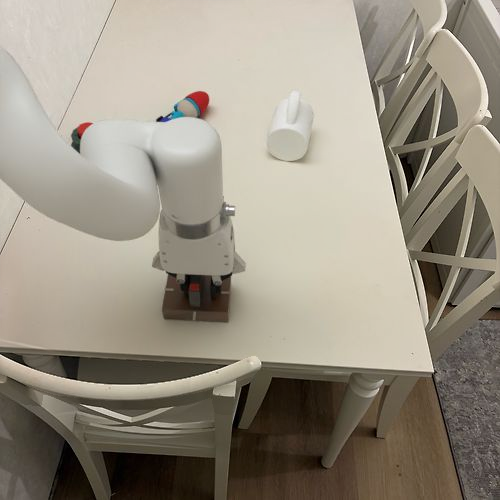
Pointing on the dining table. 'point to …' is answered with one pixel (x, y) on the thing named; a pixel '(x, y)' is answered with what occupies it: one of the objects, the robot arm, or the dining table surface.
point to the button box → (76, 140)
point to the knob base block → (210, 309)
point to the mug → (290, 128)
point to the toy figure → (188, 106)
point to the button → (83, 128)
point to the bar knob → (196, 290)
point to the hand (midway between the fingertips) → (201, 290)
